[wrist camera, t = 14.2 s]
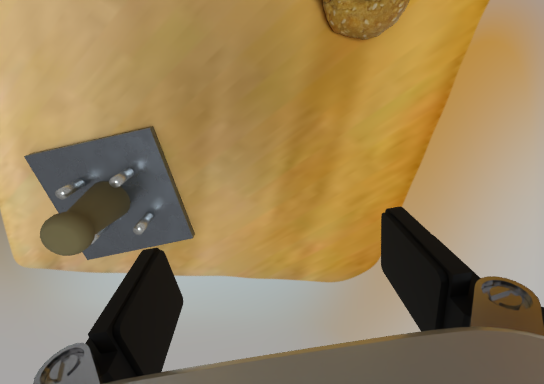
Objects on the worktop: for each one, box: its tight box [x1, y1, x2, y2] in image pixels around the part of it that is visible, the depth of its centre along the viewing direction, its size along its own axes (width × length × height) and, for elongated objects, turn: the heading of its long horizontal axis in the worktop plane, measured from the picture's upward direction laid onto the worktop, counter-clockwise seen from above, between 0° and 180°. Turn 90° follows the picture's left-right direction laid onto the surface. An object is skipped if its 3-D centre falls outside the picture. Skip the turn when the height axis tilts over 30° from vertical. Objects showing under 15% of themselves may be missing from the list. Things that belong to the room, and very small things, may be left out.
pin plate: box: [24, 127, 194, 260], centre depth 38 cm, size 18×18×5 cm
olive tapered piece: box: [40, 181, 130, 256], centre depth 34 cm, size 6×6×11 cm
